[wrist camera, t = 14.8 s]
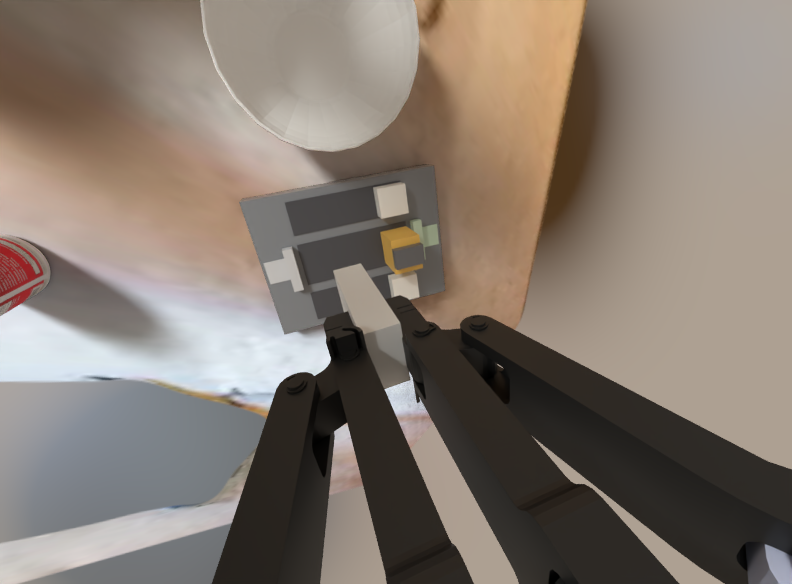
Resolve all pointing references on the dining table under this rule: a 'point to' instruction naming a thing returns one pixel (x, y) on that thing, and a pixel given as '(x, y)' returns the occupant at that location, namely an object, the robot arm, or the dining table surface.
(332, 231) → the panel
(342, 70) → the bowl
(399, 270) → the breaker handle
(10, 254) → the pill bottle
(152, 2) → the dining table surface
